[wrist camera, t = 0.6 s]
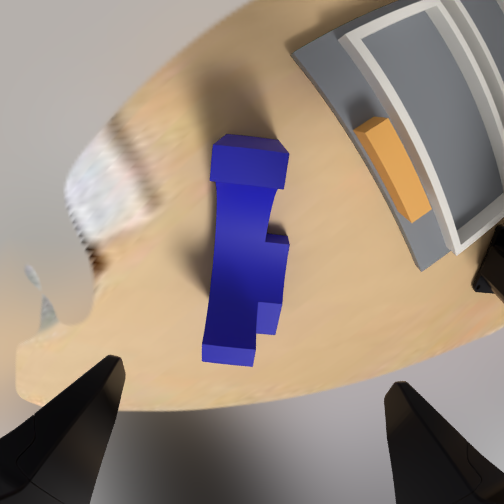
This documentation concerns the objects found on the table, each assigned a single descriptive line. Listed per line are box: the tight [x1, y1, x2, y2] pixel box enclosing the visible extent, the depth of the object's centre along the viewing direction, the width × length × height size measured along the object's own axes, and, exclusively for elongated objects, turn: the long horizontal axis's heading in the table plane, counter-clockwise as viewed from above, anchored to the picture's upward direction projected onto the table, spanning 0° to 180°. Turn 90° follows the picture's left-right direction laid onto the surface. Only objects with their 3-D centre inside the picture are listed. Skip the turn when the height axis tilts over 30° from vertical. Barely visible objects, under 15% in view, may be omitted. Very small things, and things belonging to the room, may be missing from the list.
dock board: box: [291, 0, 504, 272], centre depth 12 cm, size 22×17×3 cm
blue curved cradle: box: [202, 134, 290, 367], centre depth 16 cm, size 12×4×6 cm, turn 173°
